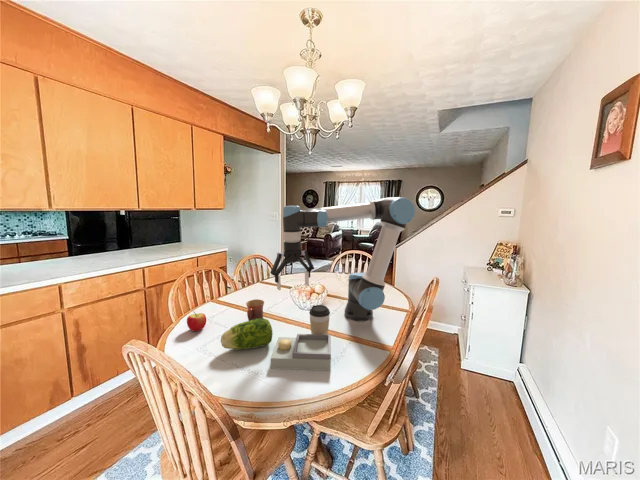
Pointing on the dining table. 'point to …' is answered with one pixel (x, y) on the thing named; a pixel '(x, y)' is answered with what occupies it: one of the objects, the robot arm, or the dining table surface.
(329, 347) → the grey tray
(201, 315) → the apple
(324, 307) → the coffee cup
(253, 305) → the mug
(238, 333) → the lettuce
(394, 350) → the dining table surface
